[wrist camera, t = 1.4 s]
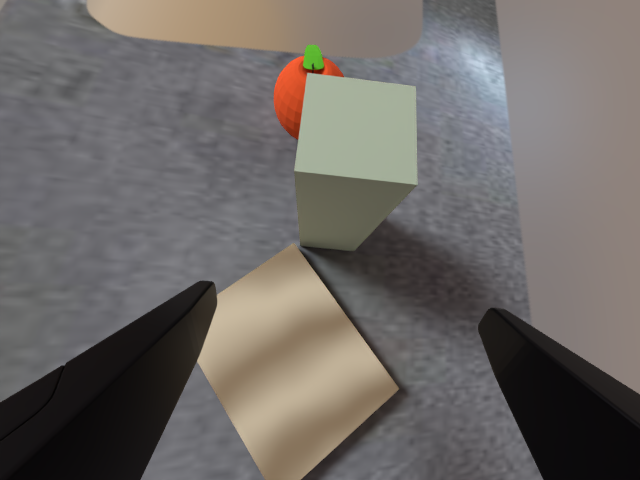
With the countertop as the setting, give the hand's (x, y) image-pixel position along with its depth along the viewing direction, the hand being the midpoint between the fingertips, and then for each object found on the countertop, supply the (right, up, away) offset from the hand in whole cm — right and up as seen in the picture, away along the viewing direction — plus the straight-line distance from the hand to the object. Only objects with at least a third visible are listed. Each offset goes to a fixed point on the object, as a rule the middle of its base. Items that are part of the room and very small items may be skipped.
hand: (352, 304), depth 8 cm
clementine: (-2, +14, +18) cm, 23 cm away
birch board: (-4, -7, +12) cm, 14 cm away
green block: (0, +4, +15) cm, 15 cm away
